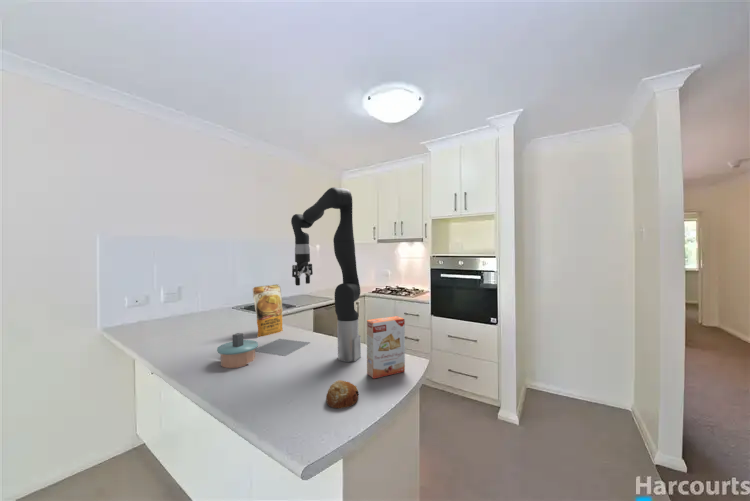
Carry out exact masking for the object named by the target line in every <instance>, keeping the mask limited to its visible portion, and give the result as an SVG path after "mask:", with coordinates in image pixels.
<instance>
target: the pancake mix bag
mask: <svg viewBox="0 0 750 501" xmlns="http://www.w3.org/2000/svg"><path fill="white" fill-rule="evenodd" d="M252 298H253V304H254V309H255V314H256V324H257V336H256V338H260V337H266V336H271V335H274V334H278V333H281V332H283V331H284V330H283V296H282V289H281V286H280V285H279V284H270V285H268V284H267V285H259V286H253V288H252Z"/></svg>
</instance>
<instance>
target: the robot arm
mask: <svg viewBox="0 0 750 501" xmlns="http://www.w3.org/2000/svg"><path fill="white" fill-rule="evenodd" d="M329 209H336V210H339V213H340V214H339V216H340V218H339V219H340V220H339V224H338V226H337V228H336V231H335V233H334V235H333V239H332V240H333V251H334V255H335V258H336V261H337V263H338V265H339V267H340V269H341V274H342V283H340V284H338V285H337V286H336V288H335V291H334V310H335V314H336V320H337V321H336V323H337V326H336V327H337V359H338V360H339V361H340V362H344V363H345V362H347V363H350V362H356V361H358V360H359V359H360V358H361V357H362V353H361V350H362V349H361V345H362V344H361V343H362V342H361V335H359V333H360V332H359V312H358V311H356V310H355V302H356V301H358V299H359V298H360V297H361V286H360V281H359V276H358V270H357V268H358V267H357V259H356V258H357V257H356V246H355V235H354V227H353V226H354V224H353V223H354V222H353V196H352V192H351V191H350V190H349V189H348V188H343V187H330V188H328V189H327V190H326V191H325V192H324V193H323V194H322V196H320V198H319V199H318V200H317V201H316V202H315V203H314V204H313V205H312V206H310V207H308V208H307V209H306V210H304V212H303V213H302V214H299V213H296V214H293V215H292V217H291V218H290V219H291V220H290V221H291V222H290V223H291V227H292V231H293V234H294V262H295V263H296V264H292V266H291V270H292V273H291V277H292V278H294V284H295V286H300V285H301V276H302V274H304V275H305V284H306V285H307V284H310V283H311V276H312V275H313V264H312V263H310V261H311V255H310V254H311V252H310V250H311V249H310V248H311V247H310V234H309V233H307V232H304V231H303V229H309V228H311V227H313V224H315V222H316V221H318V220H320V219H321V218H323V216H324V214H325V211H326V210H329Z"/></svg>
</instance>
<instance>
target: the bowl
mask: <svg viewBox="0 0 750 501" xmlns="http://www.w3.org/2000/svg"><path fill="white" fill-rule="evenodd" d="M255 359H256V352H255V349H254V350H252V351H249V352H245V353H240V354H232V355H224V354H220V366H222V368H227V369H237V368H242V367H245V366H249V365H250V364H249V363H251V362H253V361H254V360H255Z"/></svg>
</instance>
